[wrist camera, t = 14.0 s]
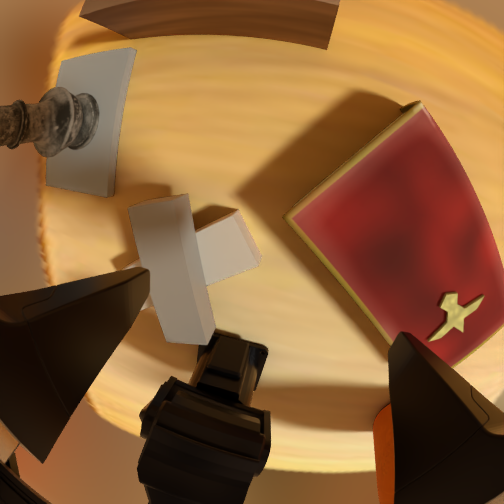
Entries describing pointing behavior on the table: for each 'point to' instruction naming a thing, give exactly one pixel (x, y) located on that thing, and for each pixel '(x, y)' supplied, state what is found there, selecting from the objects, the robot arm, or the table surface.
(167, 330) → the top offcut
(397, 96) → the table surface
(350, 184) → the hardcover book
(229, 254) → the bottom offcut
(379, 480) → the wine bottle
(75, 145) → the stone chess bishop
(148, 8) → the long thin taupe batten
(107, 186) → the slate mat
